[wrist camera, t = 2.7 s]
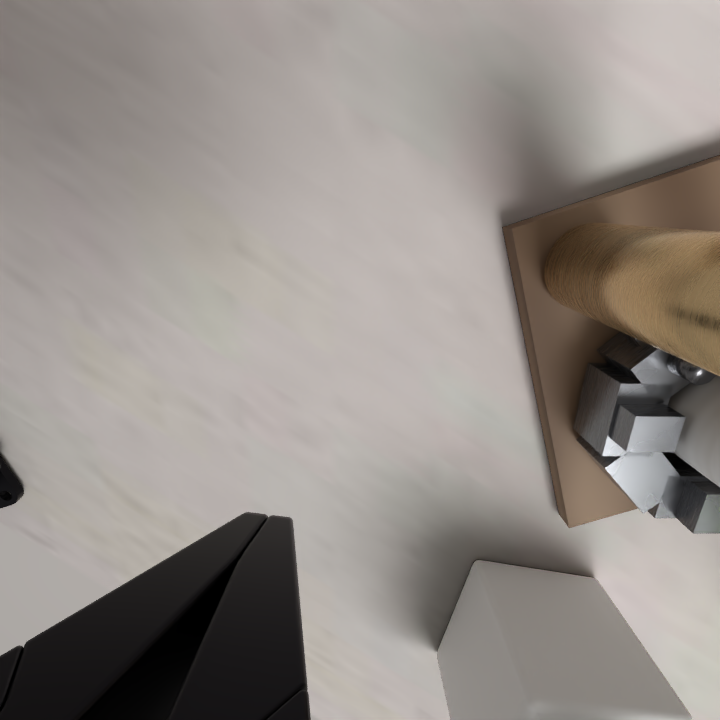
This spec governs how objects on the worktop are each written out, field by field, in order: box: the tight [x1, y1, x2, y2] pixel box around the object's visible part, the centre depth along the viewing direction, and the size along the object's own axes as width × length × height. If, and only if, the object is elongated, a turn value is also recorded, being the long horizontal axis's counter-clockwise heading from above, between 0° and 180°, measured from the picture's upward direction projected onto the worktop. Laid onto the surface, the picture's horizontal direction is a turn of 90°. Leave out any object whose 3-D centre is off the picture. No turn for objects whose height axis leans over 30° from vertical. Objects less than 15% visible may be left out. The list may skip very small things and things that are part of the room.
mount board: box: [502, 155, 720, 528], centre depth 17 cm, size 11×14×5 cm
